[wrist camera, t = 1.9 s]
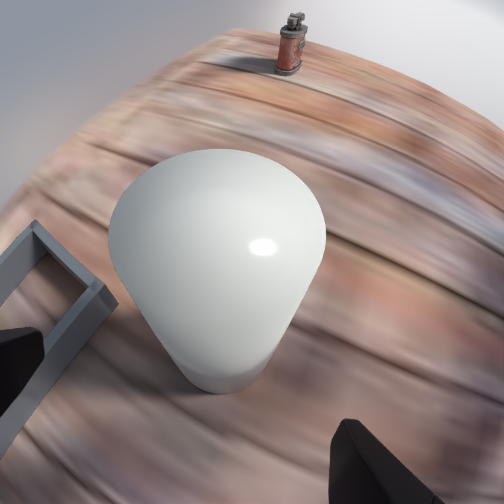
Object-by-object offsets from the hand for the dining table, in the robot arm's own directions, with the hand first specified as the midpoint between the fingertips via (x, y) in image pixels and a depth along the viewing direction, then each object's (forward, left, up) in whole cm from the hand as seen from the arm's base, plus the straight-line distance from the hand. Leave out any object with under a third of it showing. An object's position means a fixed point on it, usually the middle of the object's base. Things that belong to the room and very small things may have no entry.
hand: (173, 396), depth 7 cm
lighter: (+45, +18, -11) cm, 50 cm away
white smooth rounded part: (+4, +2, -11) cm, 12 cm away
